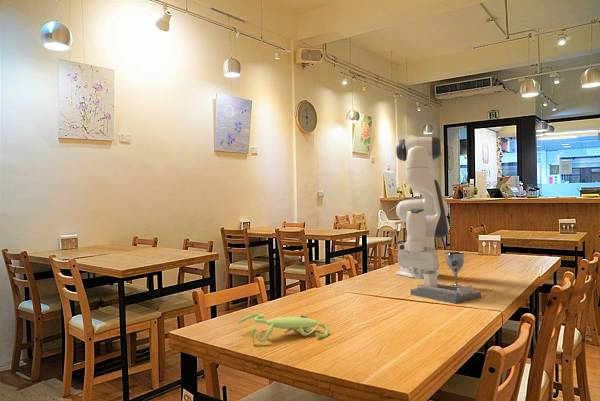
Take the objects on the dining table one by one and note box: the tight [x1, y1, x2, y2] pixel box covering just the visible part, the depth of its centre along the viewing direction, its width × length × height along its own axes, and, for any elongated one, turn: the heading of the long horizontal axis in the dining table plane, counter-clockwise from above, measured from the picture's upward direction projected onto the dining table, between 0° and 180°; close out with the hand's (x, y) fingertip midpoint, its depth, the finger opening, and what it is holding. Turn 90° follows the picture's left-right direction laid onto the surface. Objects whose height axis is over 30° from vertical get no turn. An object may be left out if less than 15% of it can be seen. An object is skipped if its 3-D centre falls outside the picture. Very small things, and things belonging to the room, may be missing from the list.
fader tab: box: [423, 271, 439, 288], centre depth 187 cm, size 3×5×7 cm, turn 124°
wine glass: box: [445, 251, 466, 287], centre depth 198 cm, size 8×8×15 cm
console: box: [410, 283, 482, 304], centre depth 181 cm, size 22×16×5 cm
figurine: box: [237, 313, 330, 345], centre depth 139 cm, size 18×27×6 cm
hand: (418, 278), depth 192 cm, fingers closed
